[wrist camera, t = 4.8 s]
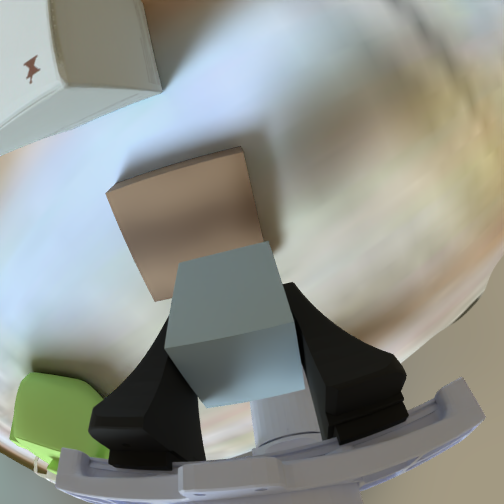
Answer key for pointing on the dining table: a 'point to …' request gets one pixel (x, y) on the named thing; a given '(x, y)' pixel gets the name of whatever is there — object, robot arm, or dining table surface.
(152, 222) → the walnut slab
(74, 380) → the teapot
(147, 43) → the supplement box
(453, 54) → the dining table surface
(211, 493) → the robot arm
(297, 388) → the pale grey block
